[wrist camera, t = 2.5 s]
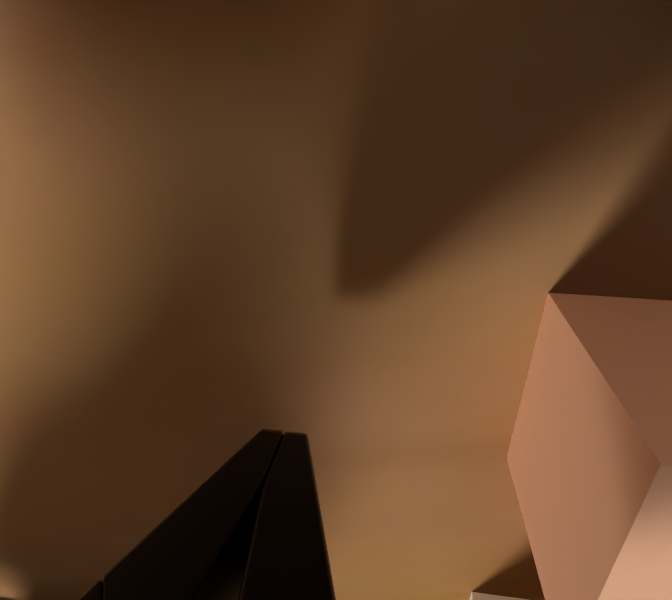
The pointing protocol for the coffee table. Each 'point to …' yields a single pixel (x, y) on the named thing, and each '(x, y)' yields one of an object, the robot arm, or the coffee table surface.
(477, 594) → the cream block
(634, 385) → the terracotta block
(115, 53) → the coffee table surface
